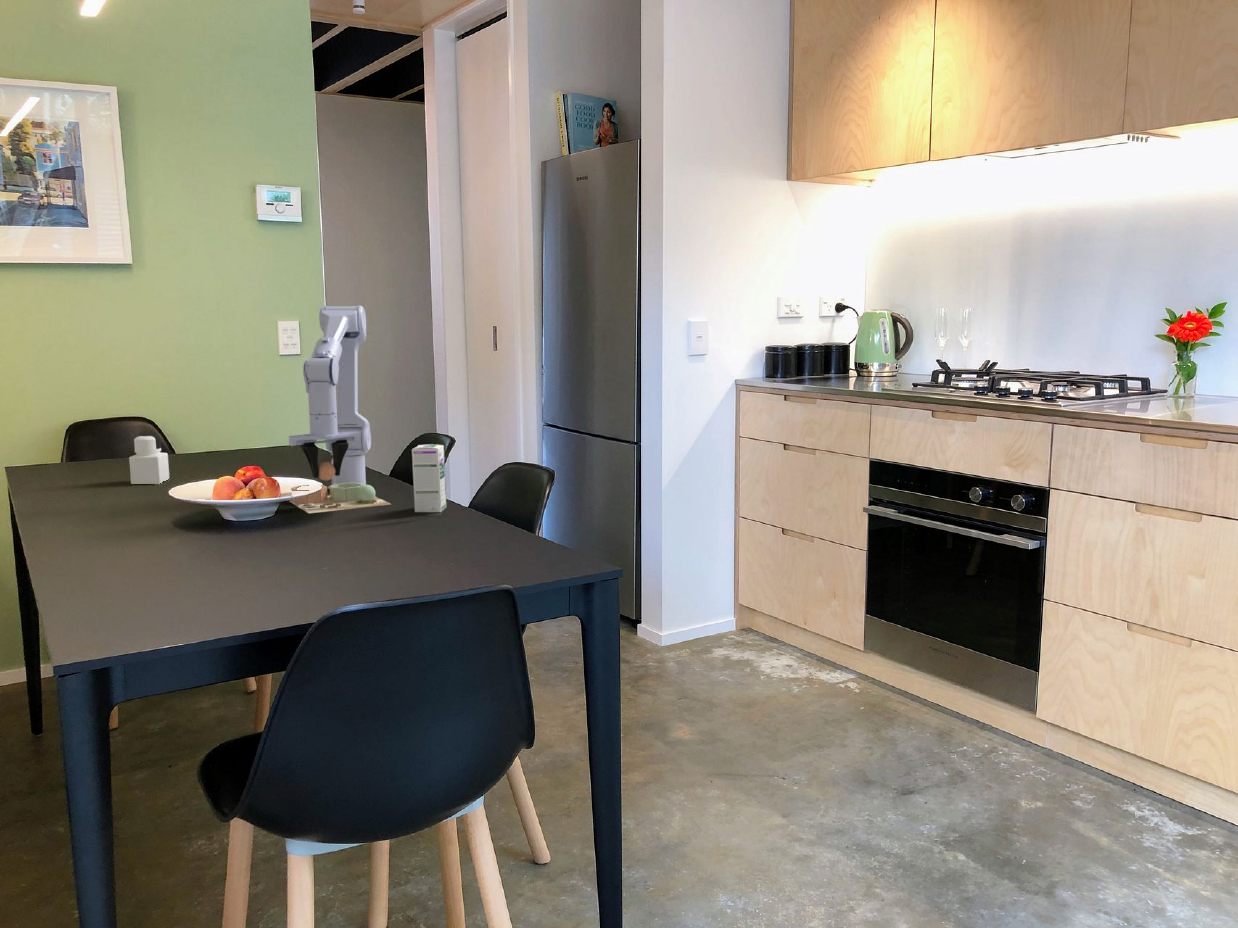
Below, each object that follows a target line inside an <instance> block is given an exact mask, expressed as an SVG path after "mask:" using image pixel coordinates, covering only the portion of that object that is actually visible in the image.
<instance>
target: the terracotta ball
mask: <svg viewBox="0 0 1238 928" xmlns="http://www.w3.org/2000/svg"><path fill="white" fill-rule="evenodd" d="M318 472H319V477H318V479H320V480H323V481H330V480H332V478H333V477H334V476H335V473H336V469H335V467H334V465H333V464H331V462H329V461H323V462H321V463H320V464H318Z"/></svg>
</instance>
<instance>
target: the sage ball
mask: <svg viewBox="0 0 1238 928" xmlns="http://www.w3.org/2000/svg"><path fill="white" fill-rule="evenodd" d="M357 497H358V499H359V500H360V501H362V502H371V501H372V500H373V499H374V498H375V497H376V490H375V488H374V487H373V486H372V485H370V484H366V485H362V486H361V487H359V489H358V490H357Z"/></svg>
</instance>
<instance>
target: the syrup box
mask: <svg viewBox="0 0 1238 928" xmlns="http://www.w3.org/2000/svg"><path fill="white" fill-rule="evenodd" d="M444 448H445V446H444V445H443V444H435V443H434V444H433V443H430V444H427V443H426V444H418V445H417V446H416V447H414V448H412V449H411V457H412V459H411V460H412V480H413V482H412V483H413V499H414V500H413V501H414V513H429V515H434V516H442V514H443V512H444V510H445V509H446V508H447V491H446V470H445V469H446V467H445V466H446V465H445V464H446V463H445V449H444ZM430 513H433V514H430Z"/></svg>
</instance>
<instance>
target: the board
mask: <svg viewBox="0 0 1238 928" xmlns="http://www.w3.org/2000/svg"><path fill="white" fill-rule="evenodd" d="M327 496H328V500H327V501H324V502H321V503H312V504H296V503H293V502H292V500H290V499H289V500H290V501H288V502H289V503H291V504H293V505H295V506H296V507H297V508H299V509H300V510H303V511H304V512H306V513H307V514H314V513H315V514H316V513H327V512H335V511H344V510H352V509H353V510H354V509H363V508H371V507H372V508H373V507H379V506H389V505H392V503H390V502H388V501H386V500H384V499H381V498H379V497H378V496H375V498H374V499H373V500H372V501H371V502H362V501H360V500H358V501H348V502H341V501H333V500H331V499H330V495H327Z"/></svg>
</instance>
